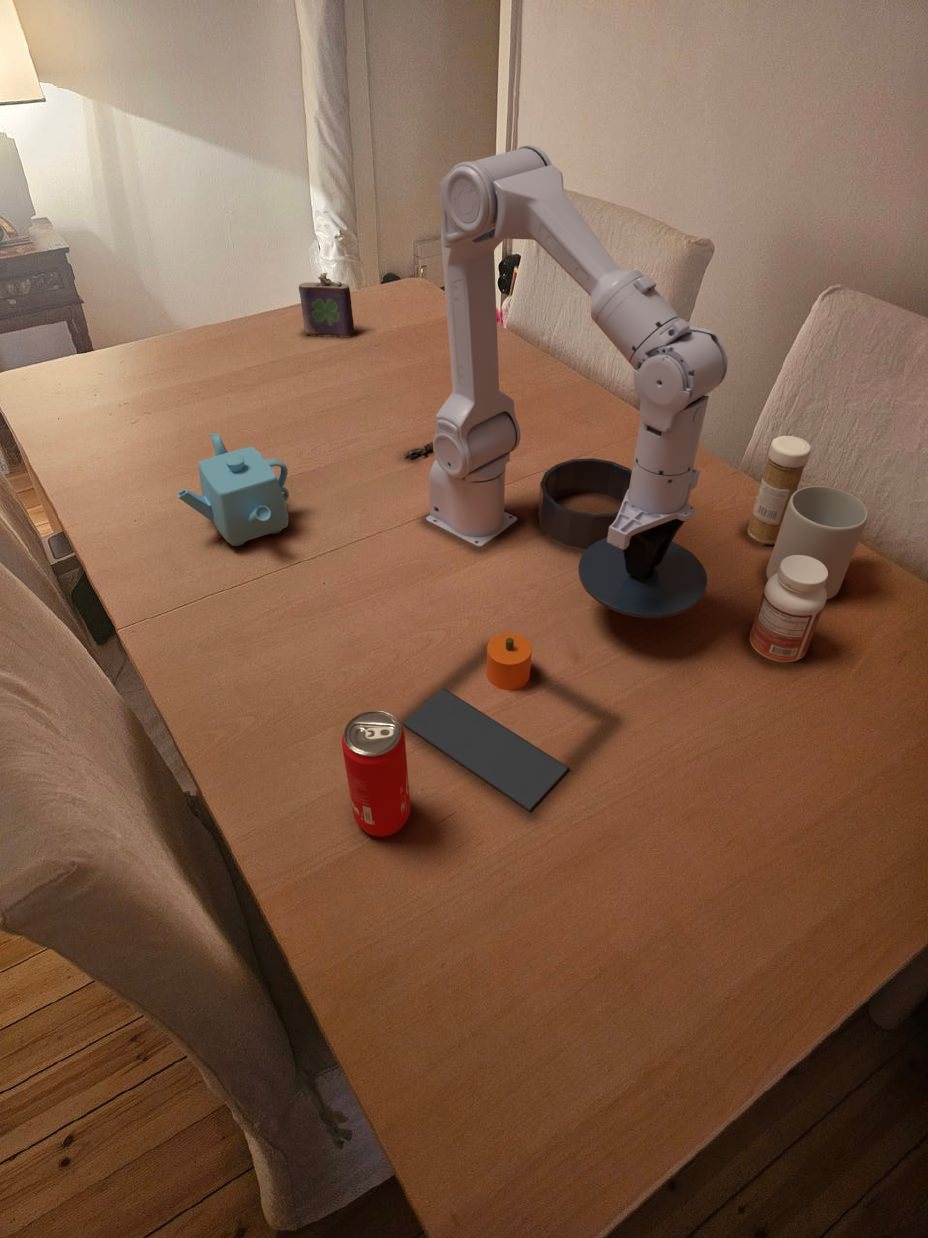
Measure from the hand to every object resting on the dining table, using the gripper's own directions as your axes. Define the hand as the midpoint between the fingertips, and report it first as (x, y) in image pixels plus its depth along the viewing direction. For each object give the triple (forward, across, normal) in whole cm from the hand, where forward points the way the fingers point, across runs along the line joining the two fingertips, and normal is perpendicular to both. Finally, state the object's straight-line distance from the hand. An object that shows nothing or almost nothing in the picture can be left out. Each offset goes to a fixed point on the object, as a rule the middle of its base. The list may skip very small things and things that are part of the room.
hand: (642, 568), depth 89 cm
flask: (+8, +31, +84) cm, 89 cm away
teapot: (+8, -17, +49) cm, 52 cm away
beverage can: (+8, -37, +4) cm, 38 cm away
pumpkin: (+7, -16, +6) cm, 19 cm away
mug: (+8, +21, -12) cm, 25 cm away
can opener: (+8, +13, +43) cm, 45 cm away
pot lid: (+1, 0, 0) cm, 1 cm away
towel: (+8, -21, +2) cm, 23 cm away
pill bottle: (+8, +7, -14) cm, 18 cm away
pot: (+8, +13, +15) cm, 21 cm away
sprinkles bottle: (+8, +25, -4) cm, 26 cm away
